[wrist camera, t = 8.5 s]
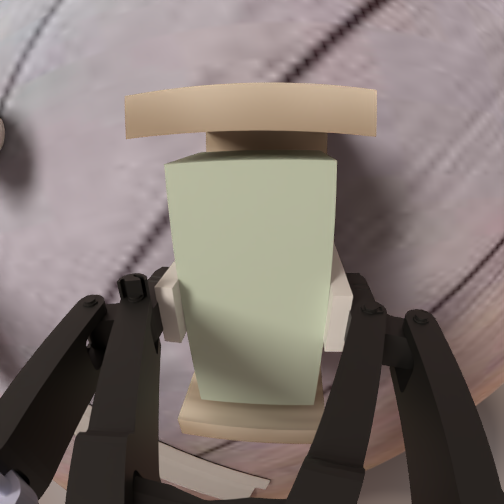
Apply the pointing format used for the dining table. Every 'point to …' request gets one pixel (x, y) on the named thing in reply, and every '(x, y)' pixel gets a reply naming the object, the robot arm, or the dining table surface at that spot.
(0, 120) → the cup
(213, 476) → the crown molding
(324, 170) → the pale green block
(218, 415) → the frame
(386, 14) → the dining table surface
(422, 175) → the dining table surface
